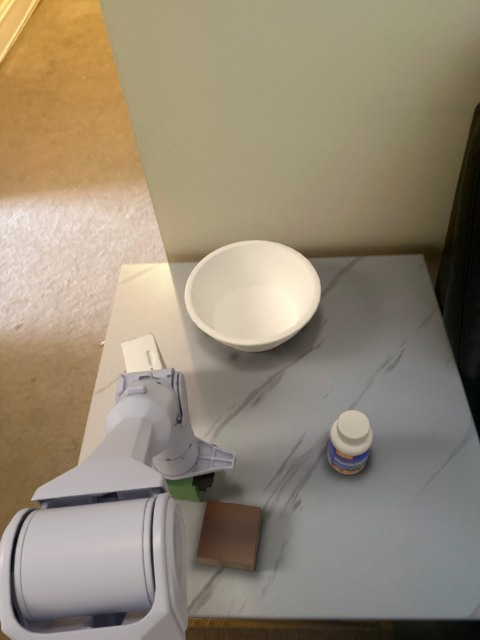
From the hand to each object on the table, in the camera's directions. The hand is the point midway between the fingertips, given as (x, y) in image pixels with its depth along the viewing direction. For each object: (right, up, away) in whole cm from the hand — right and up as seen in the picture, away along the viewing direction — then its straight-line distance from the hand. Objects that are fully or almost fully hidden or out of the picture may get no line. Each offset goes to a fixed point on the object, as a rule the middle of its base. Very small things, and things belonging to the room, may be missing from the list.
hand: (186, 482), depth 75 cm
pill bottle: (+22, +3, +2) cm, 22 cm away
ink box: (-5, +9, +10) cm, 14 cm away
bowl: (+10, +22, +18) cm, 29 cm away
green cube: (0, 0, +1) cm, 1 cm away
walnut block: (+6, -6, -3) cm, 9 cm away
